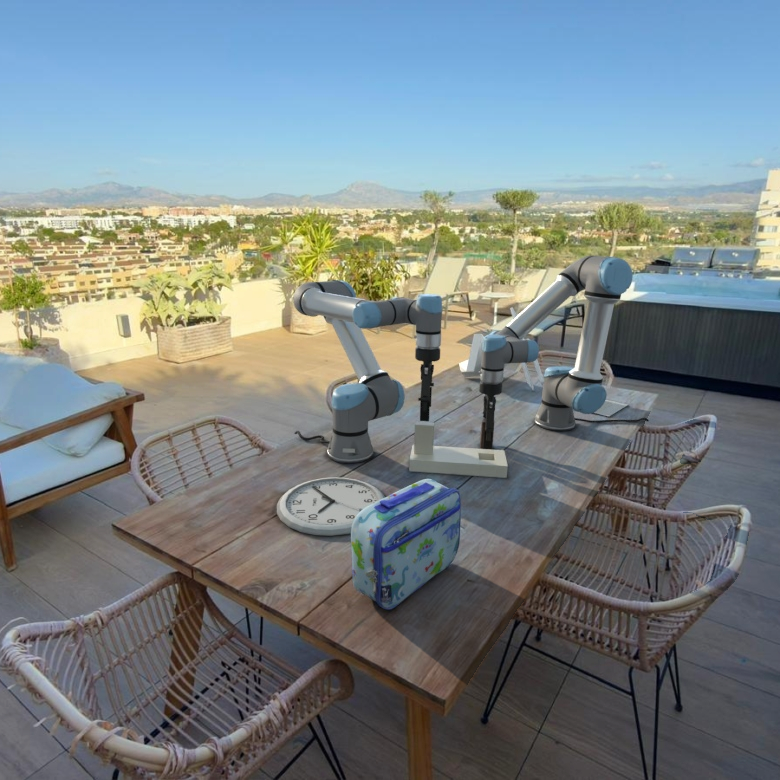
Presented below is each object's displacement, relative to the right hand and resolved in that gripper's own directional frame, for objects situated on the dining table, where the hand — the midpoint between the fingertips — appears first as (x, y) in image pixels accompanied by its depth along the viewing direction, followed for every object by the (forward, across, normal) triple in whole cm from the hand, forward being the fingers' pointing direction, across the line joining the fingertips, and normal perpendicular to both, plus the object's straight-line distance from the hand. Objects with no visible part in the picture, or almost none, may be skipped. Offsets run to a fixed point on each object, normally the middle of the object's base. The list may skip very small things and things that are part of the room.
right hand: (486, 442), depth 182 cm
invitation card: (+2, -52, +52) cm, 74 cm away
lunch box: (+2, +76, -21) cm, 79 cm away
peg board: (+2, +17, -10) cm, 20 cm away
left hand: (-16, +17, -21) cm, 31 cm away
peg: (+2, 0, 0) cm, 2 cm away
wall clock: (+2, +47, -44) cm, 64 cm away
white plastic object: (+2, -79, +10) cm, 80 cm away
